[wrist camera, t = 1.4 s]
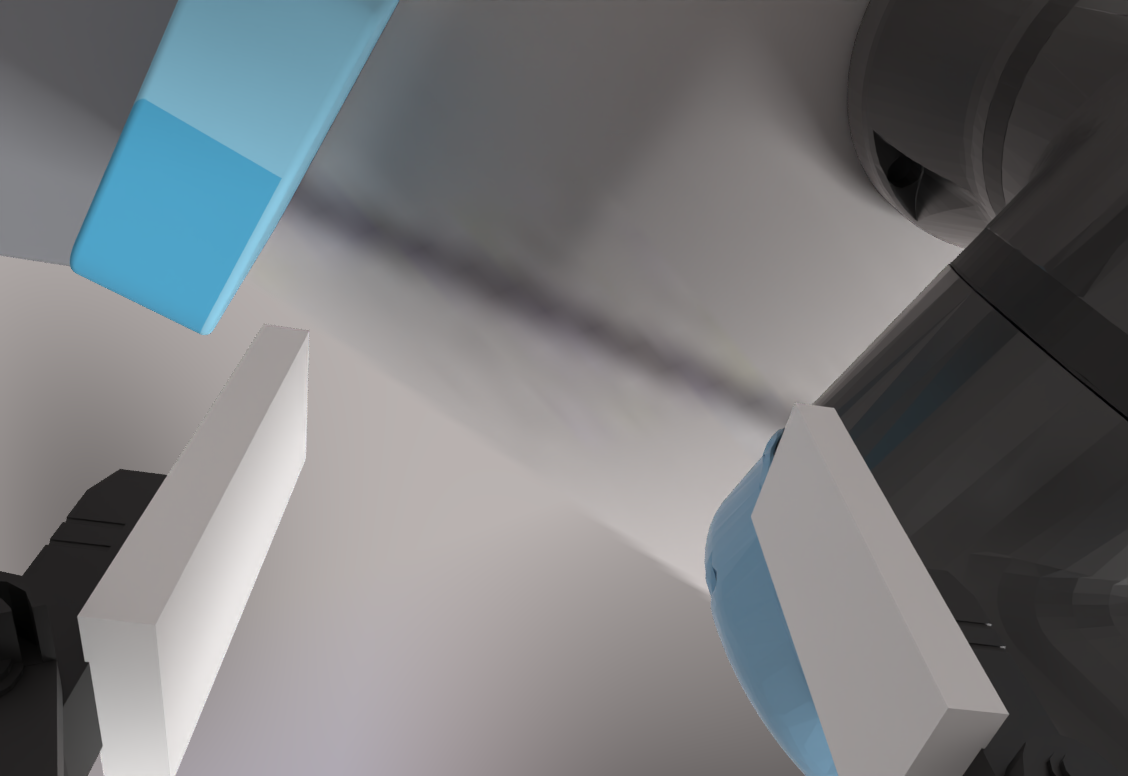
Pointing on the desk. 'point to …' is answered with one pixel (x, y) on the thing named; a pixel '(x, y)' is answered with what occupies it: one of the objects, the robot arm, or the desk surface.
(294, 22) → the data package
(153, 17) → the mat
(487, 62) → the desk surface
